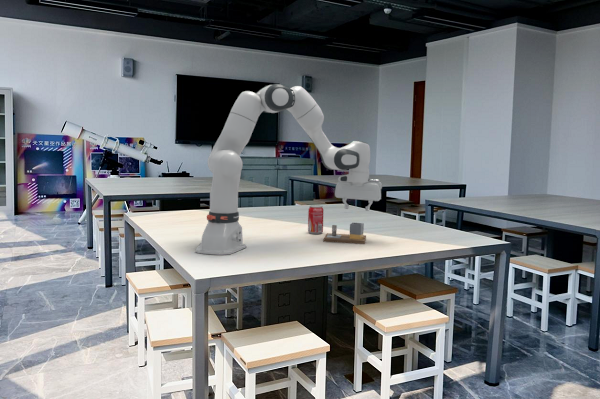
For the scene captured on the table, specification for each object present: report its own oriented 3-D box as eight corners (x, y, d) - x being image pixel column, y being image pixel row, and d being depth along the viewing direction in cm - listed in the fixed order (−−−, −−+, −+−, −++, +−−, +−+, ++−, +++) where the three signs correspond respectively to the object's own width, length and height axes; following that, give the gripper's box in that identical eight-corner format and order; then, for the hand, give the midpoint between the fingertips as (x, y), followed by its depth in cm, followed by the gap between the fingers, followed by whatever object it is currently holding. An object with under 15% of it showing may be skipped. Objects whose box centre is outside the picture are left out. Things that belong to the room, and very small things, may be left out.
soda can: (325, 233, 237) (326, 206, 235) (315, 235, 232) (316, 207, 230) (314, 231, 242) (315, 204, 240) (304, 232, 237) (305, 205, 235)
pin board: (364, 244, 214) (365, 229, 214) (323, 241, 217) (323, 227, 216) (365, 238, 228) (366, 224, 227) (326, 235, 231) (327, 222, 230)
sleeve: (360, 238, 218) (361, 225, 218) (349, 237, 220) (350, 224, 219) (363, 236, 223) (363, 223, 222) (352, 235, 225) (352, 222, 224)
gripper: (383, 179, 218) (381, 210, 219) (338, 176, 225) (337, 206, 226) (380, 180, 212) (378, 212, 214) (334, 177, 219) (333, 208, 221)
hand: (356, 209), depth 220 cm, fingers open, 8 cm apart
